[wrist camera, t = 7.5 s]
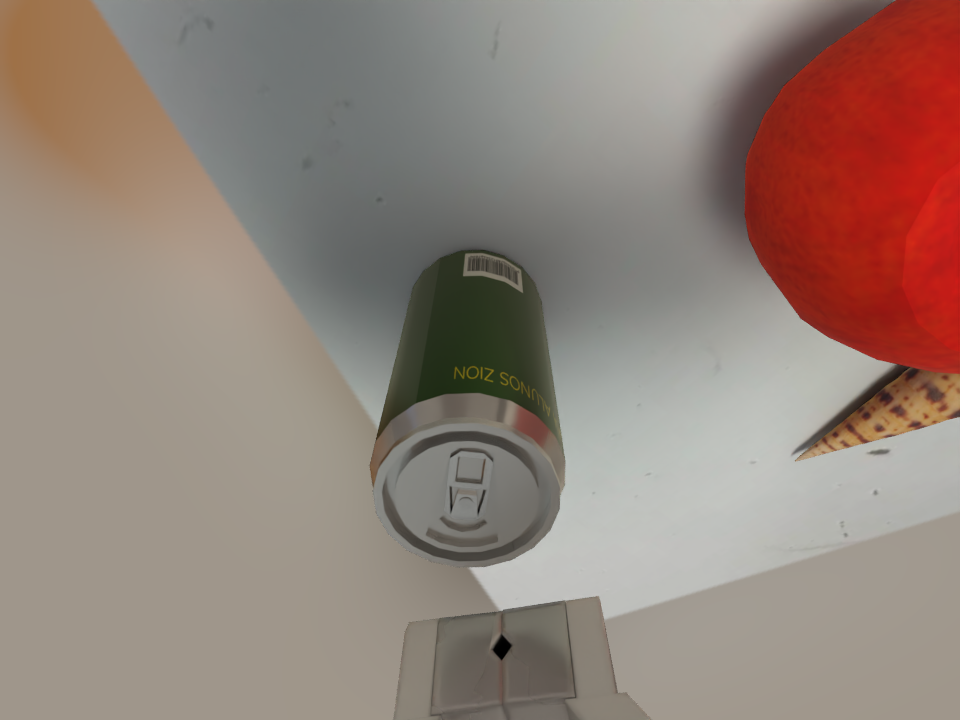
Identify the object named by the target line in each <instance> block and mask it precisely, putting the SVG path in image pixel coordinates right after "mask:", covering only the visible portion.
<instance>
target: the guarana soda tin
mask: <svg viewBox="0 0 960 720" xmlns="http://www.w3.org/2000/svg"><path fill="white" fill-rule="evenodd" d="M370 471H371V478H372V484H373V495H374V502H375V509H376V514H377V516H378V517H379V519H380V521H381V523H382V524H383V526H384V528H385V529H386V531H387V533H388V534H389V535H390V536H391V537H392V538H394V539H395V540H396V541H397V542H398V543H399V544H400V545H401V546H403V547H404V548H405V549H406V550H408V551H409V552H411V553H414V554H416V555H418V556H420V557H422V558H424V559H426V560H428V561H430V562H434V563H439V564H444V565H449V566H453V567H486V566H490V565H494V564H498V563H502V562H506V561H509V560H512V559H514V558H516V557H518V556H519V555H521V554H523V553H525V552H526V551H528V550H530V549H532V548H534V547H535V546H536V544H537V543H538V542H539V541H540V540H541V539H542V538H543V537H544V536H545V535H546V534H547V533H548V532H549V531H550V530H551V527H552V525H553V523H554V521H555V518H556V516H557V514H558V511H559V509H560V495H561V492H562V490H563V488H564V486H565V456H564V449H563V442H562V436H561V429H560V422H559V416H558V409H557V402H556V396H555V389H554V382H553V376H552V369H551V362H550V356H549V349H548V342H547V336H546V329H545V322H544V315H543V309H542V302H541V299H540V296H539V293H538V291H537V288H536V285H535V283H534V281H533V280H532V279H531V278H530V276H529V275H528V274H527V273H526V272H525V270H524V269H523V268H522V267H521V266H519V265H518V264H516V263H515V262H513V261H512V260H510V259H508V258H507V257H505V256H503V255H500V254H496V253H492V252H488V251H485V250H469V251H459V252H456V253H453V254H450V255H447V256H445V257H442V258H440V259H438V260H437V261H436V262H435V263H433V264H432V265H431V266H429V267H428V268H427V269H425V270H424V271H423V273H422V274H421V276H420V277H419V279H418V280H417V282H416V283H415V285H414V286H413V289H412V293H411V297H410V301H409V305H408V309H407V313H406V317H405V321H404V326H403V330H402V334H401V338H400V342H399V346H398V350H397V355H396V359H395V363H394V367H393V371H392V375H391V379H390V384H389V388H388V392H387V396H386V400H385V404H384V408H383V413H382V417H381V421H380V425H379V429H378V433H377V438H376V442H375V446H374V450H373V454H372V458H371V462H370Z"/></svg>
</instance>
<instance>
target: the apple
mask: <svg viewBox="0 0 960 720" xmlns="http://www.w3.org/2000/svg"><path fill="white" fill-rule="evenodd" d="M745 219H746V225H747V230H748V236H749V240H750V242H751V244H752V246H753V248H754V250H755V253H756V255H757V257H758V259H759V261H760V263H761V265H762V266H763V267H764V269H765V270H766V272H767V273H768V274H769V276H770V277H771V278H772V280H773V281H774V283H775V284H776V285H777V287H778V288H779V289H780V291H781V292H782V293H783V295H784V296H785V298H786V299H787V300H788V302H789V303H790V304H791V306H792V307H793V309H794V310H795V311H796V313H797V314H798V315H799V317H800V318H801V319H802V320H804V321H805V322H807V323H808V324H809V325H811V326H812V327H814V328H815V329H817V330H818V331H820V332H821V333H823V334H824V335H826V336H827V337H829V338H831V339H833V340H836V341H838V342H840V343H842V344H844V345H846V346H849V347H851V348H853V349H855V350H857V351H859V352H862V353H864V354H866V355H868V356H870V357H872V358H875V359H877V360H881V361H886V362H890V363H895V364H899V365H904V366H908V367H913V368H917V369H922V370H926V371H931V372H937V373H952V374H960V0H896V1H894V2H893V3H891V4H890V5H888V6H887V7H886V8H884V9H883V10H881V11H880V12H878V13H877V14H875V15H874V16H873V17H871V18H870V19H868V20H867V21H865V22H864V23H862V24H861V25H860V26H858V27H857V28H855V29H854V30H852V31H851V32H849V33H848V34H847V35H845V36H844V37H842V38H841V39H839V40H838V41H836V42H835V43H834V44H832V45H831V46H829V47H828V48H826V49H825V50H824V51H822V52H821V53H820V54H819V55H818V56H817V57H816V58H814V59H813V60H812V61H811V62H810V63H809V64H808V65H807V66H805V67H804V68H803V69H802V70H801V71H800V72H799V73H798V74H796V75H795V76H794V77H793V78H792V79H791V80H790V81H789V82H787V83H786V84H785V85H784V86H783V88H782V90H781V91H780V93H779V94H778V96H777V97H776V99H775V100H774V102H773V103H772V105H771V106H770V108H769V109H768V110H767V112H766V113H765V115H764V117H763V119H762V122H761V124H760V126H759V129H758V131H757V133H756V136H755V138H754V140H753V143H752V145H751V147H750V150H749V152H748V155H747V160H746V170H745Z"/></svg>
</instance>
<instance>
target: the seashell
mask: <svg viewBox="0 0 960 720" xmlns="http://www.w3.org/2000/svg"><path fill="white" fill-rule="evenodd" d="M957 417H960V374H952V373H937V372H931V371H926V370H922V369H917V368H913V367H910V368H909V369H908V370H906V371H905V372H904V373H903V374H902V375H901V376H900V377H899V378H897V379H896V380H894V381H893V382H891V383H890V384H888V385H887V386H886V387H884V388H883V389H882V390H880V391H879V392H878V393H877V394H876V395H875V396H874V397H873V398H872V399H870V400H869V401H867V402H866V403H865V404H864V405H862V406H861V407H860V408H858V410H857V411H855V412H854V413H852V414H851V415H850V416H849V417H848V418H846V419H845V420H844V421H843V422H842V423H841V424H839V425H837V426H836V427H835V428H834V429H833V430H832V431H830V432H829V433H828V434H826V435H825V436H824V437H823V438H822V439H820V440H819V441H817V442H816V443H815V444H814V445H812V446H811V447H810V448H809V449H808V450H806V451H805V452H804V453H803V454H801V455H800V456H799V457H798V458H797V459H796V460H795V461H799V460H804V459H807V458H811V457H815V456H818V455H822V454H825V453H829V452H833V451H837V450H841V449H845V448H849V447H852V446H856V445H859V444H865V443H868V442H872V441H875V440H879V439H883V438H887V437H892V436H896V435H899V434H902V433H906V432H909V431H912V430H917V429H920V428H924V427H927V426H930V425H933V424H937V423H940V422H943V421H945V420H948V419H953V418H957Z"/></svg>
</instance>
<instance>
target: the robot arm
mask: <svg viewBox="0 0 960 720" xmlns="http://www.w3.org/2000/svg"><path fill="white" fill-rule="evenodd" d="M394 720H651V719H650V717H649V716H647V714H646V713H645V712H644V711H643V710H642V709H641V708H640V707H639V706H638V705H637V703H636V702H635V701H634V700H633V699H632V698H631V697H630V696H629V695H628V694H627V693H626V692H625V693H618V692H617V686H616V682H615V675H614V670H613V665H612V660H611V654H610V649H609V644H608V639H607V634H606V628H605V623H604V618H603V613H602V607H601V602H600V599H599V596H596V597H589V598H582V599H575V600H568V601H565V600H564V601H558V602H551V603H545V604H538V605H532V606H525V607H519V608H512V609H506V610H503V611H499V612H490V613H482V614H472V615H463V616H455V617H446V618H439V619H431V620H423V621H416V622H409V624H408V627H407V629H406V631H405V636H404V643H403V651H402V658H401V667H400V674H399V681H398V689H397V697H396V704H395V712H394Z"/></svg>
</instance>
